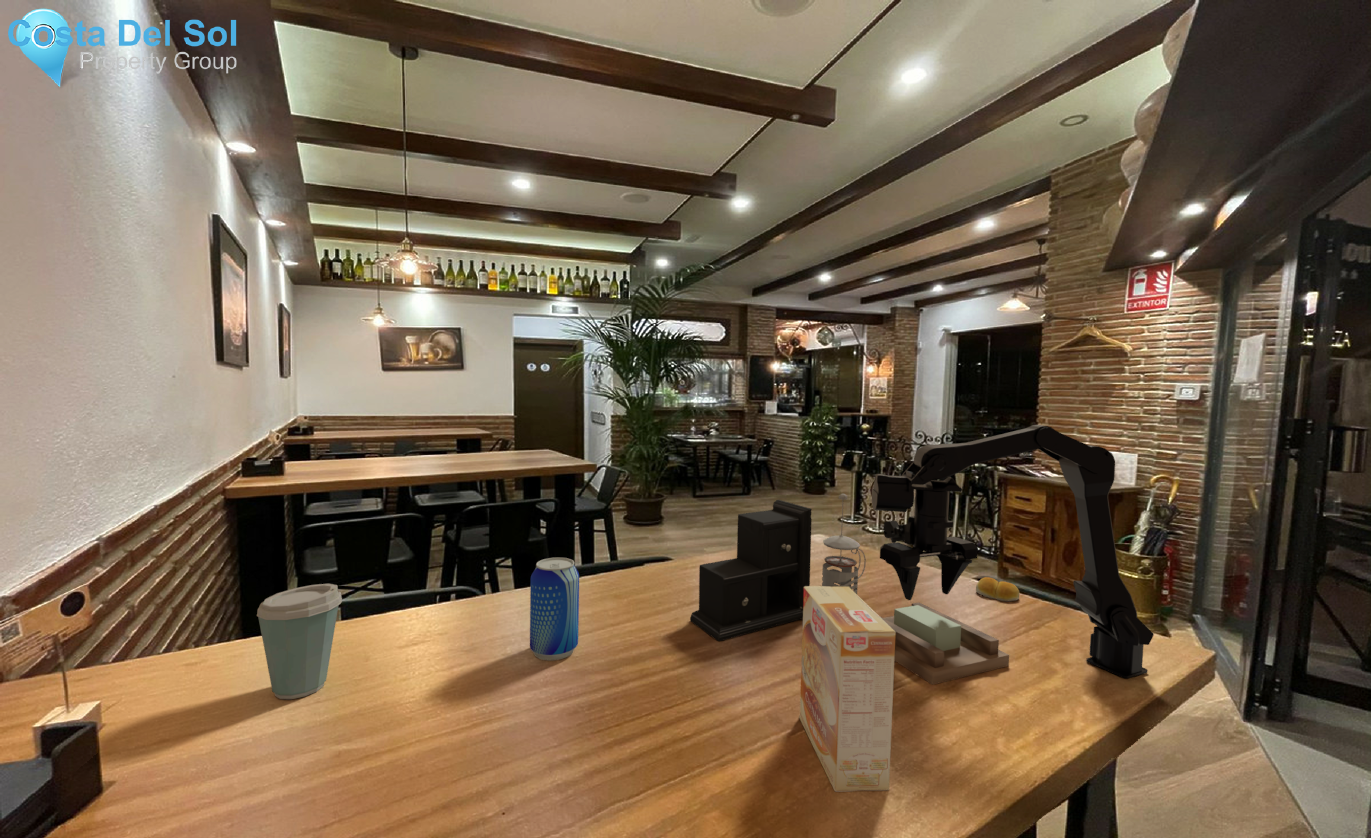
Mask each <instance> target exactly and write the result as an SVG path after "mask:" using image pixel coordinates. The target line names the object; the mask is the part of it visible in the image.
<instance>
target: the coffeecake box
mask: <svg viewBox="0 0 1371 838" xmlns="http://www.w3.org/2000/svg"><path fill="white" fill-rule="evenodd" d="M881 617H882V616H880V615H879V614H878V613H877V612H876V611H875V610H873V609H872V607H870V605H868V603H867V602H865V601H864V600H863V599H862V598H861V597H860V596H859V595H858V593H857V594H856V593H855V592H854V591H853V589H851V588H850V587H830V586H822V585H810V586H804V600H803V619H802V635H801V641H802V642H801V669H800V695H799V696H800V698H799V715H798V717H799V720H800V723H801V724H802V726H803V728H804V731H805V733H806V735H807V737H808V739H809V742H810V743H811V745H812V747H813V749H814V751H815V754H816V755H817V758H818V760H819V762H820V763H821V765H822V768H823V769H824V772H825V774H826V776H827V779H828V781H829V783H830V784H831V786H832V788H833V790H834V792H837V793H839V792H840V793H841V792H842V793H844V792H845V793H846V792H856V791H857V792H858V791H860V792H861V791H889V790H890V778H891V777H890V773H891V750H892V749H891V747H892V722H893V704H894V703H893V701H894V699H893V698H894V680H895V679H894V677H895V674H894V672H895V661H894V655H895V635H896V632H895V631H894V630H893V629H892V628H891V627H890V626H889V625H888V624H887V623H886V622H885V621H884V620H883V619H882V618H883V617H882V618H881Z"/></svg>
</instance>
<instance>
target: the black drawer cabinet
mask: <svg viewBox="0 0 1371 838" xmlns="http://www.w3.org/2000/svg"><path fill="white" fill-rule="evenodd" d="M812 520H813V519H812V508H811V507H807V506H803V505H801V504H800V505H799V504H796V503H791V502H789V501H785V500H781V499H776V500H775V501H774V502H773V504H772V509H769V510H768V509H767V510H761V511H759V510H758V511H753V512H746V513H745V512H744V513H738V515H737V533H736V534H737V536H736V538H737V540H736V541H737V543H736V557H735V558H730V559H724V560H719V561H714V562H708V563H703V564H699V569H698V570H699V573H698V574H699V575H698V577H699V579H698V610H695V611H693V612H692V613H691V615H690V617H689V621H690V622H691V623H692V624H694V625H695V626H697V627H698V628H699V629H701V630H702V631H704V632H705V633H706V634H707V635H709V636H711V637H712V638H713V639H715V640H716V641H717V642H722V641H725V640H729V639H732V638H736V637H740V636H743V635H747V634H750V633H755V632H758V631H762V630H767V629H770V628H773V627H777V626H781V625H784V624H788V623H791V622H795V621H800V620H803V600H804V586H811V585H810V584H811V557H812V556H811V552H812V551H811V550H812V549H811V548H812V523H813V522H812Z"/></svg>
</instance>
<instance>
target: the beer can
mask: <svg viewBox="0 0 1371 838" xmlns="http://www.w3.org/2000/svg"><path fill="white" fill-rule="evenodd" d="M530 575H531V576H530V589H529V590H530V594H529V595H530V596H529V597H530V598H529V599H530V604H529V605H530V607H529V612H530V613H529V649H530V650H531V652H532V653H533V655H534V656H535V658H537V659H539V660H541V661H547V662H549V661H558V660H564V659H566V658H568V657H570V656H571V655H573V653H574V651H575V649H576V648H577V646H578V645H579V622H580V621H579V616H580V615H579V614H580V613H579V611H580V610H579V609H580V607H579V606H580V601H579V600H580V574H579V570H578V569H577V567H576V566H575V561H574V560H573V559H571V558H567V557H549V558H548V557H547V558H544V559H541V560H538V561H537V562H536V564H535V569H534V570H533V572H532V573H531V574H530Z"/></svg>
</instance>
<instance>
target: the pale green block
mask: <svg viewBox="0 0 1371 838" xmlns="http://www.w3.org/2000/svg"><path fill="white" fill-rule="evenodd" d="M893 610H894V612H893V616H894V624H895V625H897V626H899V627H900V628H902V629H904V630H906V631H908V632H910V633H911V634H913V635H915V636H917V637H919V638H920V639H922V640H924V641H926V642H928V643H930V644H931V645H933V646H935V647H937V648H939V649H941V650H942V651H946V650H950V649H955V648H960V641H961V625H959V624H957V623H955V622H952V621H950V620H948V619H946V618H944V617H942V616H940V615H938V614H936V613H934V612H931V611H929V610H927V609H925V608H923V607H921V606H919V605H915V606H912V605H911V606H905V607H904V606H903V607H898V608H894V609H893Z"/></svg>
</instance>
